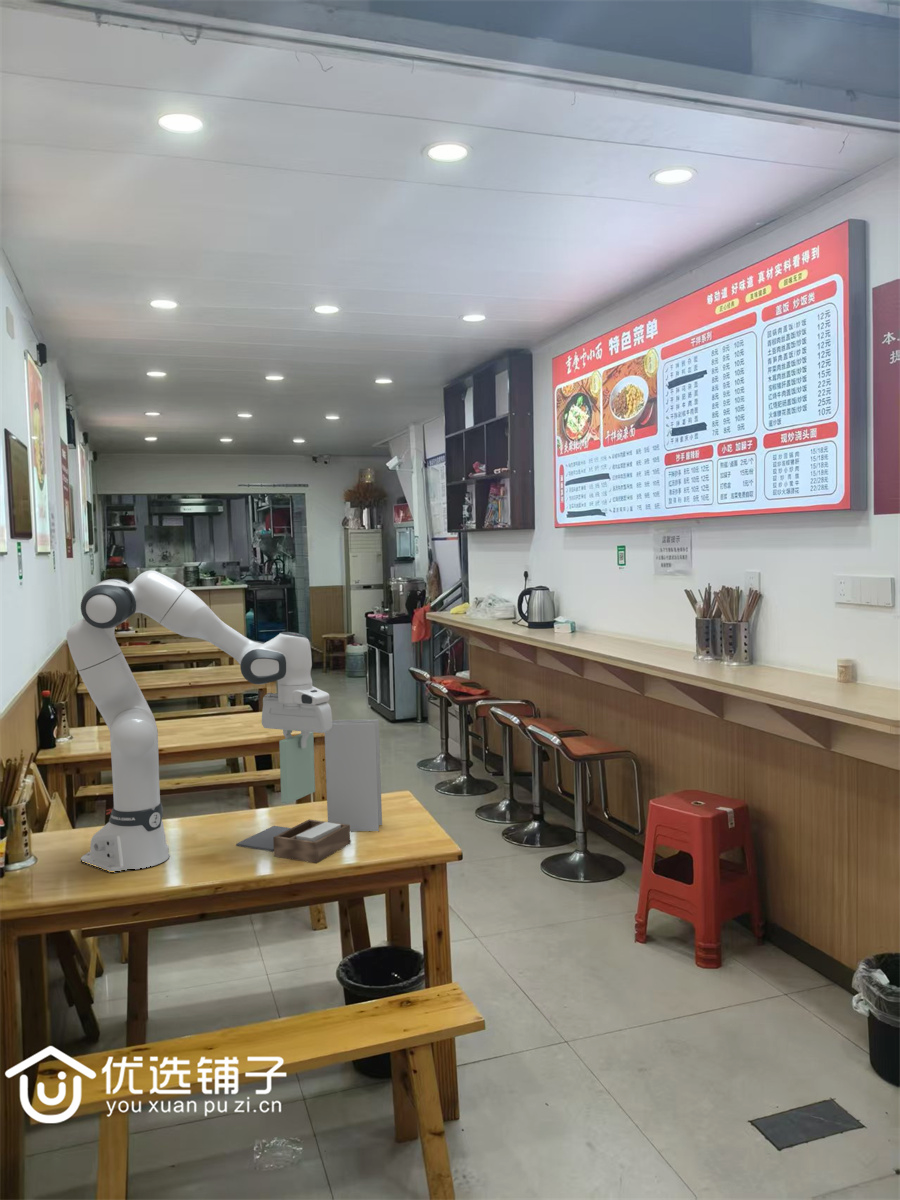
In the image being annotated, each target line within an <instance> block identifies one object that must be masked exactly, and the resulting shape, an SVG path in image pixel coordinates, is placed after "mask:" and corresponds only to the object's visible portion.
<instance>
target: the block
mask: <svg viewBox="0 0 900 1200" xmlns="http://www.w3.org/2000/svg"><path fill="white" fill-rule="evenodd" d="M302 737H303V735H301V733H299V734H296V735H292V737H290V738H283V739H281V740H279V741H278V742H279V766H280V767H279V770H280V771H279V773H280V800H281V804H287V805H288V804H290V803H293V802H294V801H298V800H299V799H302V798H304V797H306V796H308V795H311V794H313V793H315V792H316V781H315V780H316V779H315V778H316V777H315V775H316V774H315V744H314V743H315V742H314V741H315V740H314V738H315V737H314V732H310V735H309V737H308V739H307V746H306V748H298V741H301V739H302Z"/></svg>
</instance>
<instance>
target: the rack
mask: <svg viewBox="0 0 900 1200" xmlns="http://www.w3.org/2000/svg"><path fill="white" fill-rule="evenodd" d="M324 822H326V820H325V821H323V820H316V819H308V820H305V821H303V822H301V823H299V824H297V825H295V826H292V827H290V828H291V829H289V830H287V831H285V832H283V833H281V834H279V835H277V836H275V837H273V842H274V851H273V857H276V858H281V859H282V858H283V859H289V860H295V861H300V860H301V862H306V861H308V862H307V863H312V862H314V863H313V864H317V862H318V863H320V862H321V861H323V860H325V859H326V858H327V856H328V857H330V856H331V855H333V854H335V853H337V852H338V851H340V850H342V849H343V848H345V847H347V846H348V844H349V845H350V844H351V832H350V825H347V824H341V828H339V829H337V830H335V831H333V832H332V833H330V834H328V835H326V836H324V837H322V838H321V839H319V840H317V841H315V842H314V841H307V840H300V839H296V835H298V834H300V833H303V832H305V831H307V830H309V829H311V828H314V827H316V826H318V825H320V824H322V823H324ZM329 823H332V822H329ZM335 824H339V823H335ZM346 845H347V846H346ZM341 848H342V849H341ZM339 849H340V850H339ZM337 850H338V851H337ZM336 851H337V852H336ZM334 852H335V853H334ZM329 855H330V856H329ZM324 858H325V859H324ZM322 859H323V860H322Z"/></svg>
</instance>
